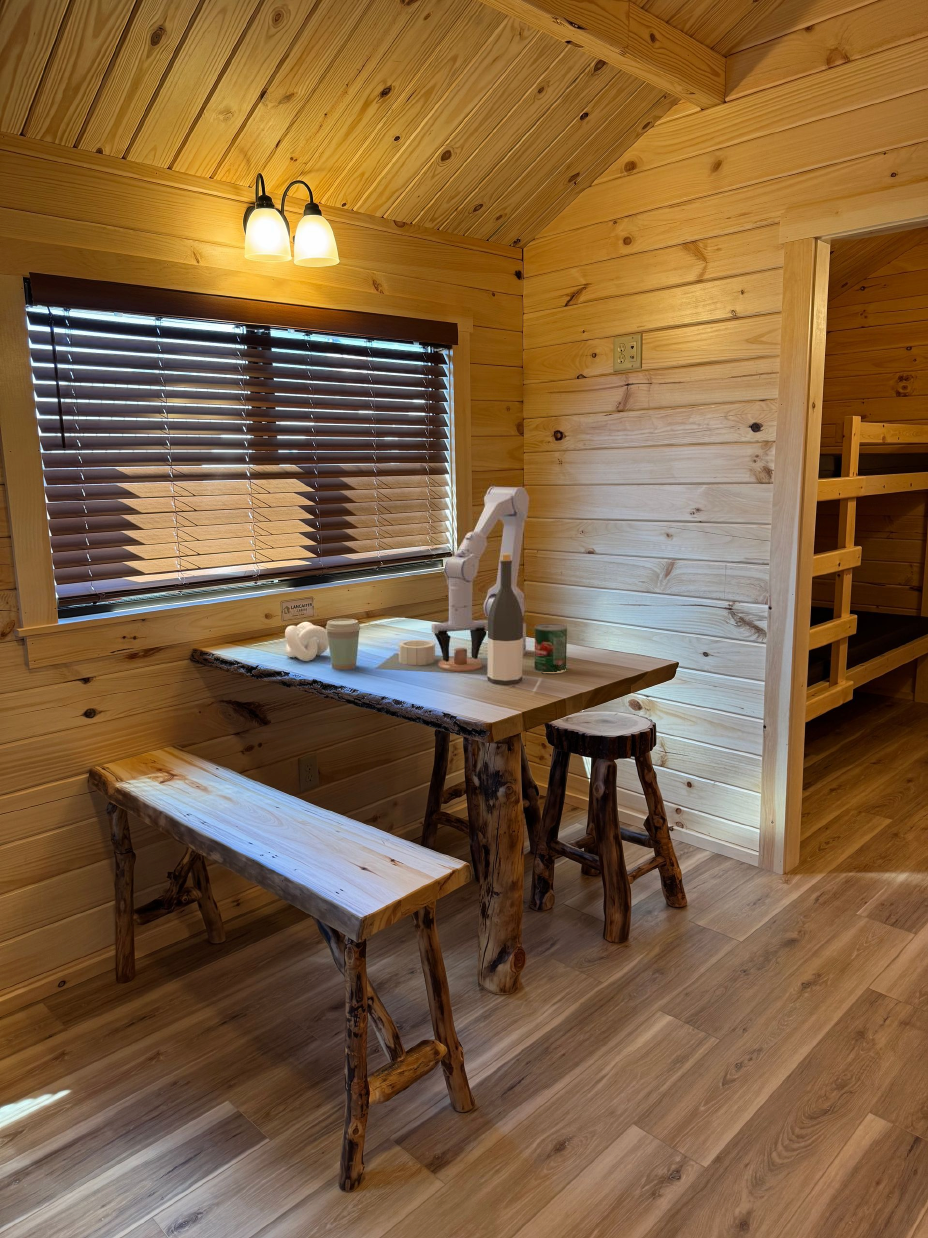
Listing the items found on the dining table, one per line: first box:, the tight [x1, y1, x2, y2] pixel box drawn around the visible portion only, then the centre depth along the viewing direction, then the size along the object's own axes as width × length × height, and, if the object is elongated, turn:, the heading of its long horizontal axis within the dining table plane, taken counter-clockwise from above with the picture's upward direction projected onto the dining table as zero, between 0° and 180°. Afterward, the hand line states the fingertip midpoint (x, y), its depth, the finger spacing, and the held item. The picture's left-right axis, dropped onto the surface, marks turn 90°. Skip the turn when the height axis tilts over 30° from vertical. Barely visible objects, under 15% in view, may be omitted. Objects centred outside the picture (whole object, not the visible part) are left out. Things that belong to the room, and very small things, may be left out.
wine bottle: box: [487, 554, 524, 686], centre depth 193 cm, size 8×8×30 cm
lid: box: [438, 647, 483, 672], centre depth 208 cm, size 11×11×4 cm
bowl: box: [398, 639, 436, 665], centre depth 214 cm, size 9×9×4 cm
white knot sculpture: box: [284, 621, 329, 662], centre depth 218 cm, size 11×12×9 cm
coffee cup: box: [324, 618, 361, 671], centre depth 207 cm, size 8×9×12 cm
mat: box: [375, 652, 488, 676], centre depth 211 cm, size 28×17×1 cm, turn 78°
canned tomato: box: [534, 622, 568, 673], centre depth 206 cm, size 8×8×11 cm
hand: (460, 659), depth 208 cm, fingers open, 7 cm apart
